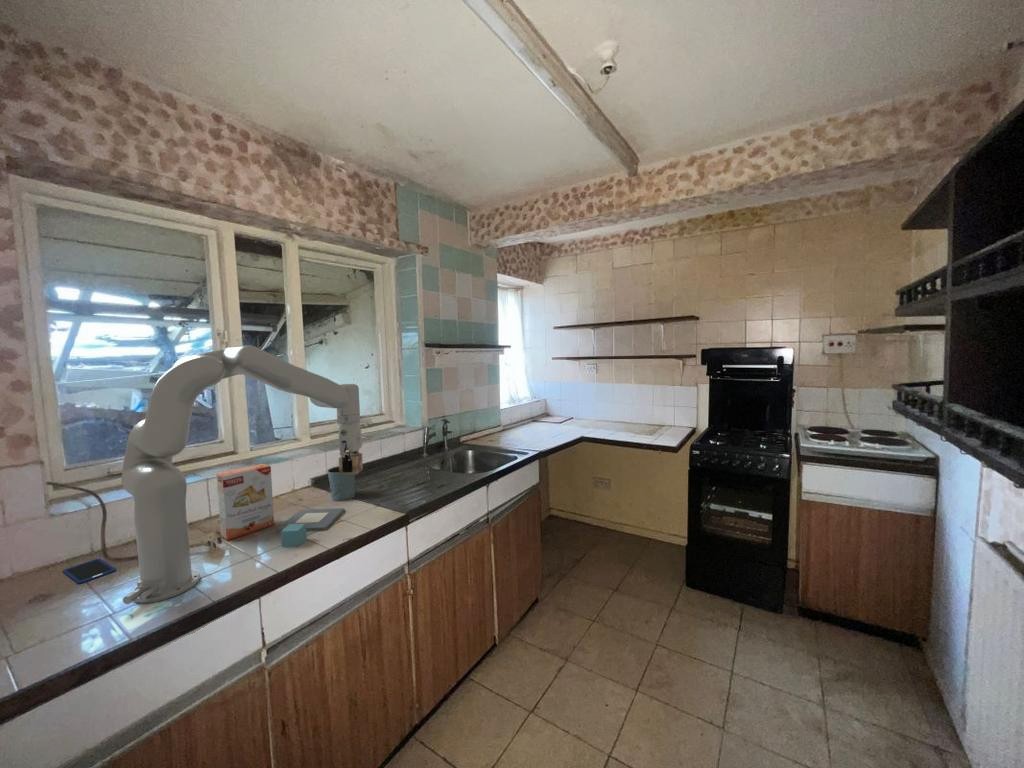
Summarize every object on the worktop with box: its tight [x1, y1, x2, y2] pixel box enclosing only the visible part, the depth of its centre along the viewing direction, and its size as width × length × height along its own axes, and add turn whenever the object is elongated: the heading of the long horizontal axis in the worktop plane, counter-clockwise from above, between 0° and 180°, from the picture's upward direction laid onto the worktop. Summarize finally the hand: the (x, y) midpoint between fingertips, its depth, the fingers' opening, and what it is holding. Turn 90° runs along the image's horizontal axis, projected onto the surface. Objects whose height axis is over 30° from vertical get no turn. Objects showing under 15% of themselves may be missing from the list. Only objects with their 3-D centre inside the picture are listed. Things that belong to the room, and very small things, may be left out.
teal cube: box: [280, 524, 308, 548], centre depth 121 cm, size 5×5×5 cm
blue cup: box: [327, 465, 356, 502], centre depth 158 cm, size 10×10×12 cm
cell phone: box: [62, 558, 118, 585], centre depth 107 cm, size 7×14×1 cm, turn 61°
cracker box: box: [216, 463, 275, 541], centre depth 129 cm, size 14×6×21 cm, turn 144°
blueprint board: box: [275, 507, 345, 533], centre depth 137 cm, size 16×16×1 cm
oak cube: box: [338, 452, 364, 475], centre depth 140 cm, size 6×6×6 cm
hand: (351, 468), depth 140 cm, fingers closed on oak cube, 6 cm apart
